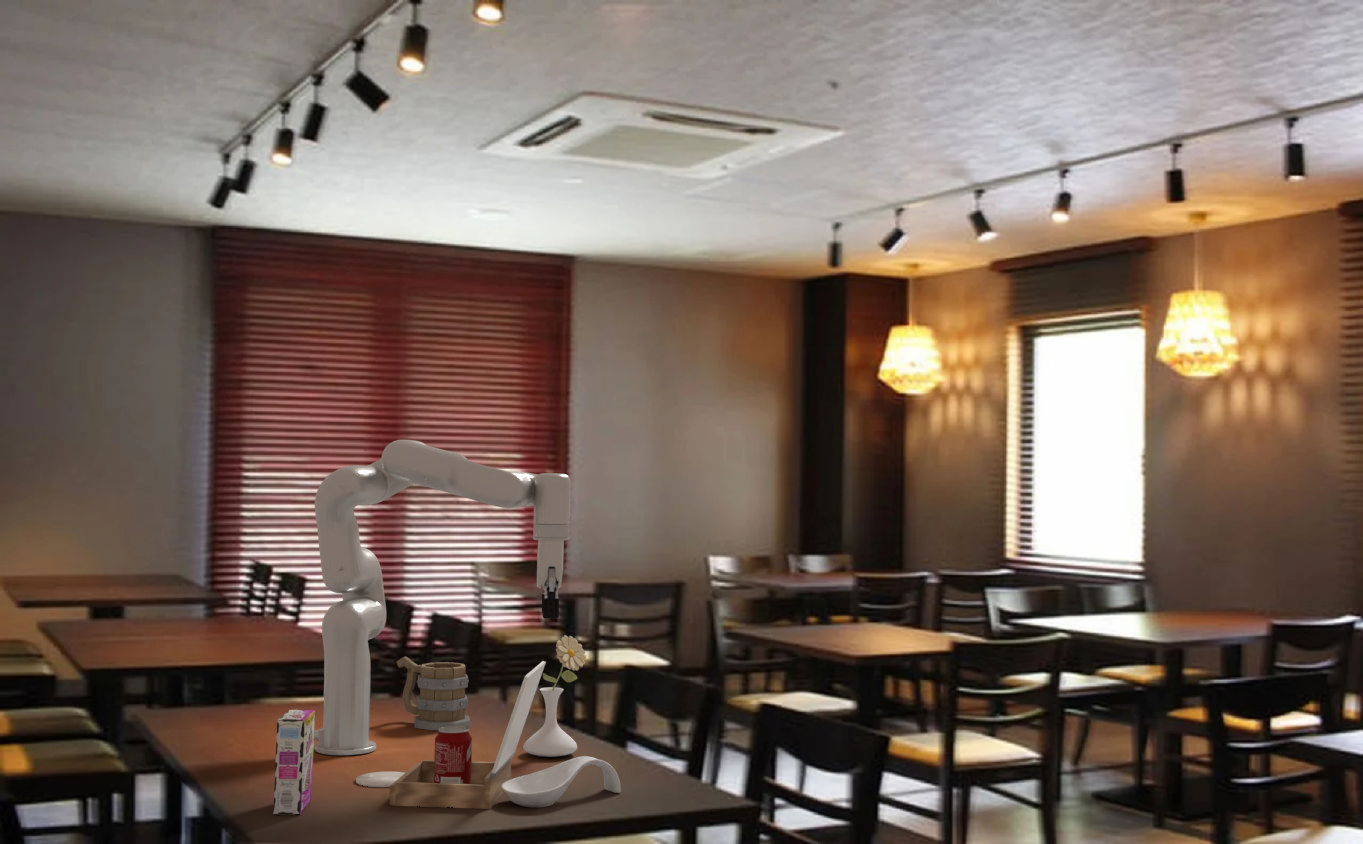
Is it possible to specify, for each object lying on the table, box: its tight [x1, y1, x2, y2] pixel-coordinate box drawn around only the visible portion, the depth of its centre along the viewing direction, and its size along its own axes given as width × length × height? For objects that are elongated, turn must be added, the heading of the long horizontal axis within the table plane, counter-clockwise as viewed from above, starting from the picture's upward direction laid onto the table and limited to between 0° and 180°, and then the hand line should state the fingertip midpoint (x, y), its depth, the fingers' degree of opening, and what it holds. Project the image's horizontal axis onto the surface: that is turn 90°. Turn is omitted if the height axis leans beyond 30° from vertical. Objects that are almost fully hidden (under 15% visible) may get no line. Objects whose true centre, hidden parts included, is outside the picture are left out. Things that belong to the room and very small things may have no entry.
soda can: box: [433, 726, 473, 784], centre depth 260 cm, size 7×7×12 cm
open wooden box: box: [389, 758, 512, 810], centre depth 260 cm, size 18×20×5 cm
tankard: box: [396, 656, 471, 732], centre depth 330 cm, size 20×13×15 cm, turn 58°
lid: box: [490, 660, 547, 778], centre depth 260 cm, size 19×20×1 cm
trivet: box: [355, 771, 406, 788], centre depth 270 cm, size 11×11×1 cm
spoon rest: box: [501, 755, 622, 808], centre depth 258 cm, size 24×12×7 cm, turn 129°
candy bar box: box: [272, 709, 316, 815], centre depth 248 cm, size 11×5×16 cm, turn 5°
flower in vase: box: [522, 634, 587, 758], centre depth 297 cm, size 13×11×25 cm
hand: (550, 615), depth 292 cm, fingers open, 9 cm apart
